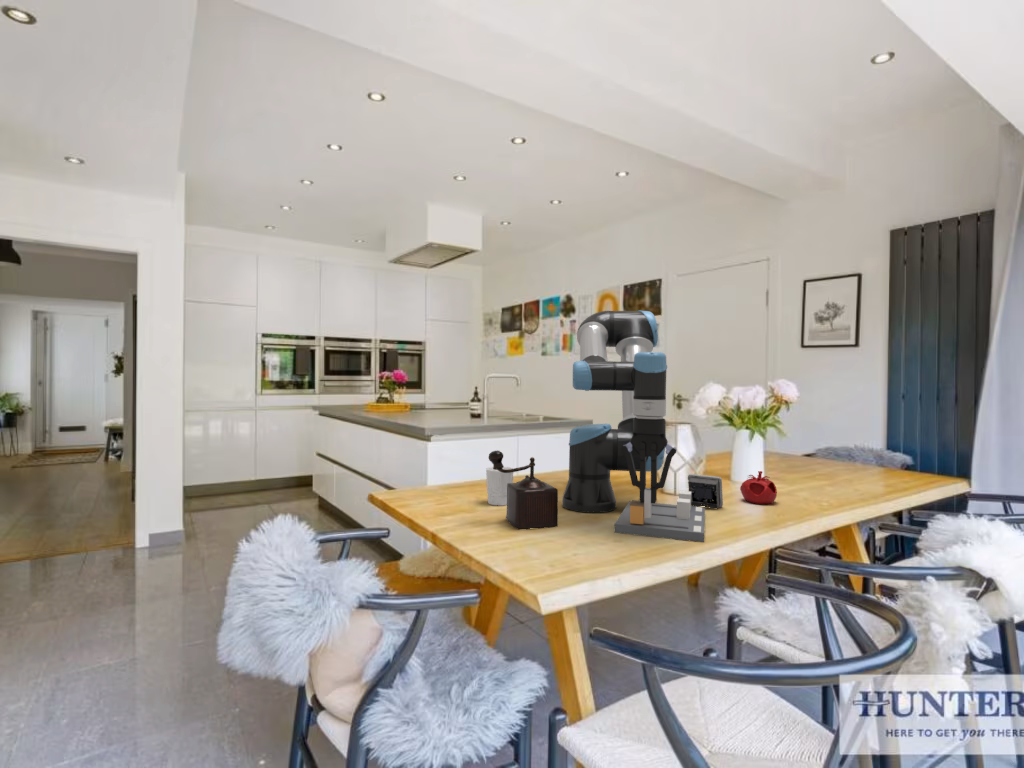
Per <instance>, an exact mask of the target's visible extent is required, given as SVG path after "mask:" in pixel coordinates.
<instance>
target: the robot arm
mask: <svg viewBox="0 0 1024 768" xmlns="http://www.w3.org/2000/svg"><path fill="white" fill-rule="evenodd" d="M658 338H659V333H658V323H657V319H656V317H655V315H654V313H653V312H651V311H649V310H641V309H638V310H602V311H598V312H595V313H593V314H591V315H589V316H587V318H585V319H584V320H583V321H582V322H581V323H580V324H579V326H578V328H577V331H576V340H577V343H578V345H579V361H577V360H576V361H575V362H573V363H572V388H573V389H574V390H576V391H577V390H578V391H585V392H589V391H614V392H616V391H617V392H620V391H621V399H622V400H621V402H622V406H621V407H622V409H621V410H622V420H620V421H619V422H618V423H617V428H612V425H611V424H610V423H595V424H585V425H579V426H576V427H574V428H572V429H571V430H570V432H569V442H568V446H569V449H568V450H569V452H568V453H569V456H568V457H569V458H568V480H567V482H566V486H565V488H564V492H563V496H562V500H561V501H562V507H563V508H565V509H566V510H569V511H575V512H581V513H607V512H612V511H614V510H616V508H617V498H616V495H615V492H614V489H613V485H612V482H611V471H619V472H623V471H624V472H628V473H629V477H630V481H631V484H632V486H633V487H637V489H639V501H640V502H643V503H644V517H645V518H651V515H652V503H657V498H658V497H657V496H658V495H657V493H658V491H657V490H658V489H664V488H665V487H664V486H665V485H666V480H667V477H668V473H669V470H670V466H671V463H672V458H673V457H674V456H675V454H676V453H677V450H678V449H677V447H675V446H674V447H673V445H671V444H669V443H668V442H669V441H668V439H667V434H666V428H667V427H666V422H667V421H666V419H665V418H664V417H666V416H667V398H666V397H667V392H666V391H667V370H668V365H667V355H666V353H664V352H661V351H660V352H659V351H658V352H657V351H654V348H655V347H656V346H657V345H658V340H659V339H658ZM607 347H608V348H615V352H616V354H617V355H618V356H620V361H611V360H609V359H608V351H607ZM608 360H609V361H608ZM665 454H666V457H665ZM664 459H665V460H664ZM662 466H663V467H662ZM661 468H662V472H661V476H660V478H659V479H660V480H659V481H658V471H660V470H661ZM637 472H639V480H638V475H637ZM647 472H650V487H646V486H647Z"/></svg>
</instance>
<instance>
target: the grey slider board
mask: <svg viewBox="0 0 1024 768" xmlns="http://www.w3.org/2000/svg"><path fill="white" fill-rule="evenodd" d="M631 501H632V500H629V502H628V503H627V505H626V506H625V507H624V508H623V511H622V512H621V514H620V515H619V516H618V518H617V520H616V521H615V523H614V533H616V534H617V533H618V534H625V535H627V534H628V535H634V534H635V536H636V535H637V536H643V535H646V536H645V537H652V536H654V537H655V538H661V537H664V538H663V539H670V538H672V539H673V540H679V539H680V540H681V541H688V540H690V542H698V541H700V542H699V543H704V542H705V521H706V520H705V519H706V508H705V507H697V506H691V492H690V491H689V490H688V491H687V490H679V492H678V498H677V500H676V504H669V503H668V504H667V503H659V502H656V503H652V515H651V518H645V521H644V523H643V524H633V523H630V503H631Z"/></svg>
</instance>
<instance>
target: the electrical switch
mask: <svg viewBox="0 0 1024 768" xmlns="http://www.w3.org/2000/svg"><path fill="white" fill-rule="evenodd" d="M687 480H688V482H687V483H688V491H690V492H691V505H694V507H697V506H705V507H710V508H709V509H711V508H717V509H716V510H718V508H722V507H723V506H724V501H723V500H724V499H723V496H724V494H723V481H722V480H723V479H722V477H721V476H714V475H706V474H695V473H689V474H688V475H687ZM701 504H702V505H701ZM707 505H708V506H707Z"/></svg>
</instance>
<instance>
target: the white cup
mask: <svg viewBox="0 0 1024 768" xmlns="http://www.w3.org/2000/svg"><path fill="white" fill-rule="evenodd" d="M485 469H486V470H485V471H486V473H485V474H486V493H487V503H488V505H491V506H497V505H498V507H499V506H507V483H514V472H511V473H503V472H500V471H498V470H494V469H493V466H490V467H487V468H485ZM502 469H504V470H508V469H514V468H513V467H509V466H504V467H503V468H502Z"/></svg>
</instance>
